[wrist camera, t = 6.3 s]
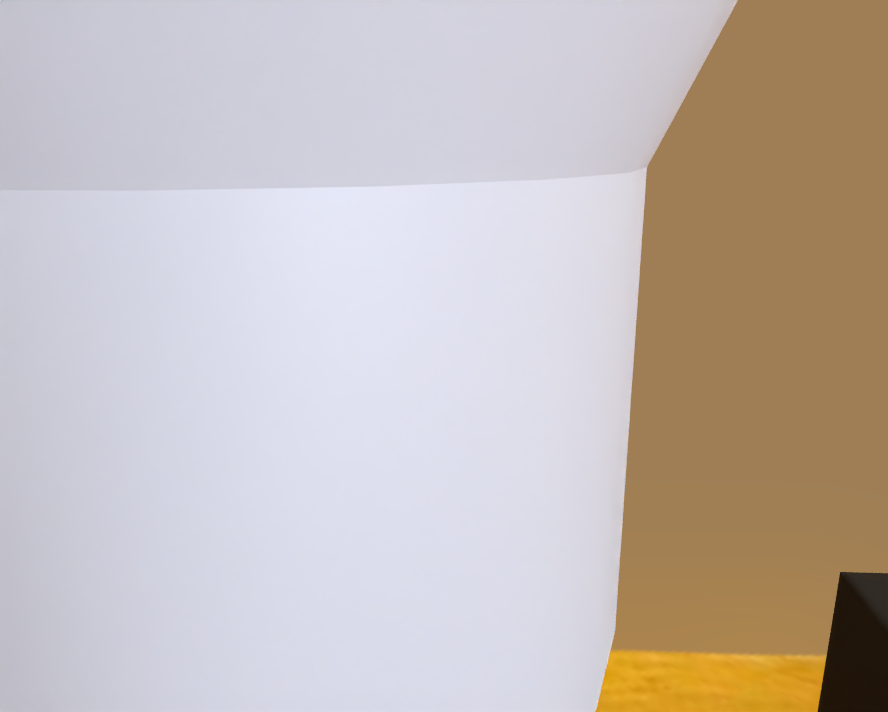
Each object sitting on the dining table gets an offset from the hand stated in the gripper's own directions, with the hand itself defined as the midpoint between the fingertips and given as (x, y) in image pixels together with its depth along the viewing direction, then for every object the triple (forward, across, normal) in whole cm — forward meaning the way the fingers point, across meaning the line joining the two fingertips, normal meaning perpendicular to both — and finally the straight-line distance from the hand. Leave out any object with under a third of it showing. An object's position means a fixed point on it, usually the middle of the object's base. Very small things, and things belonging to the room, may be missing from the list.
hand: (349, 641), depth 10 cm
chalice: (-3, 0, -11) cm, 11 cm away
